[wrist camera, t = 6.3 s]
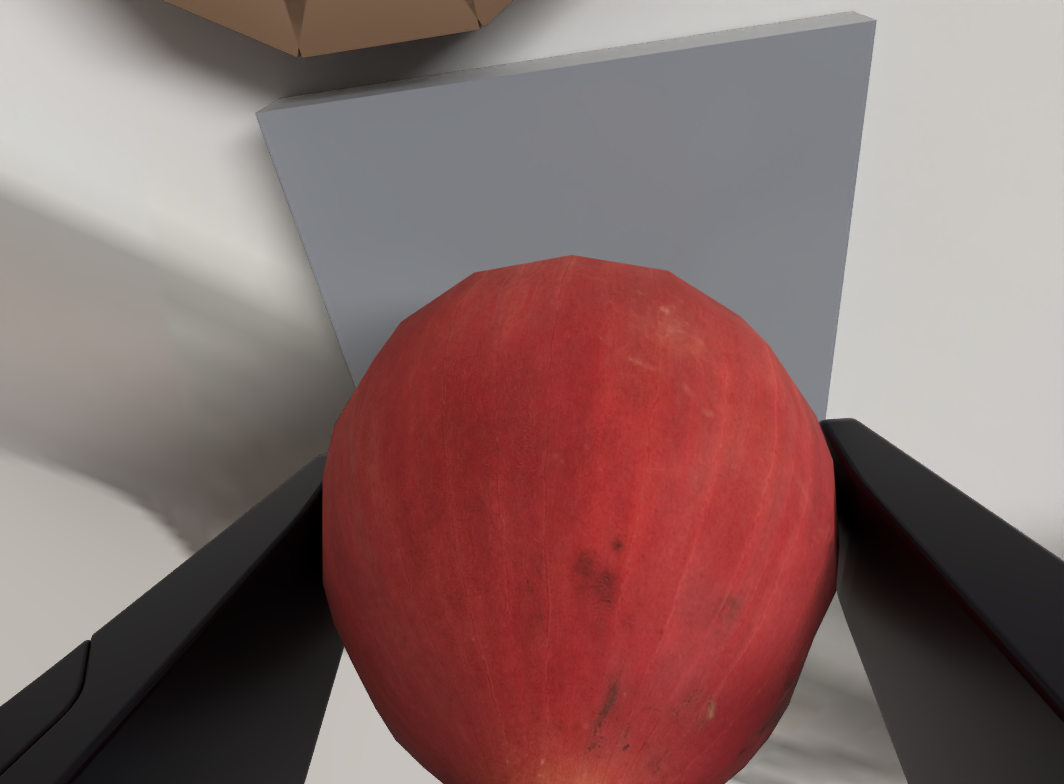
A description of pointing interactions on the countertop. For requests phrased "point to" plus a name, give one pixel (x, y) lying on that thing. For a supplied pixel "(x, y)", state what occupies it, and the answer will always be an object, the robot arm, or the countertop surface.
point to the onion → (578, 530)
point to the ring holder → (343, 21)
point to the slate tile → (594, 178)
